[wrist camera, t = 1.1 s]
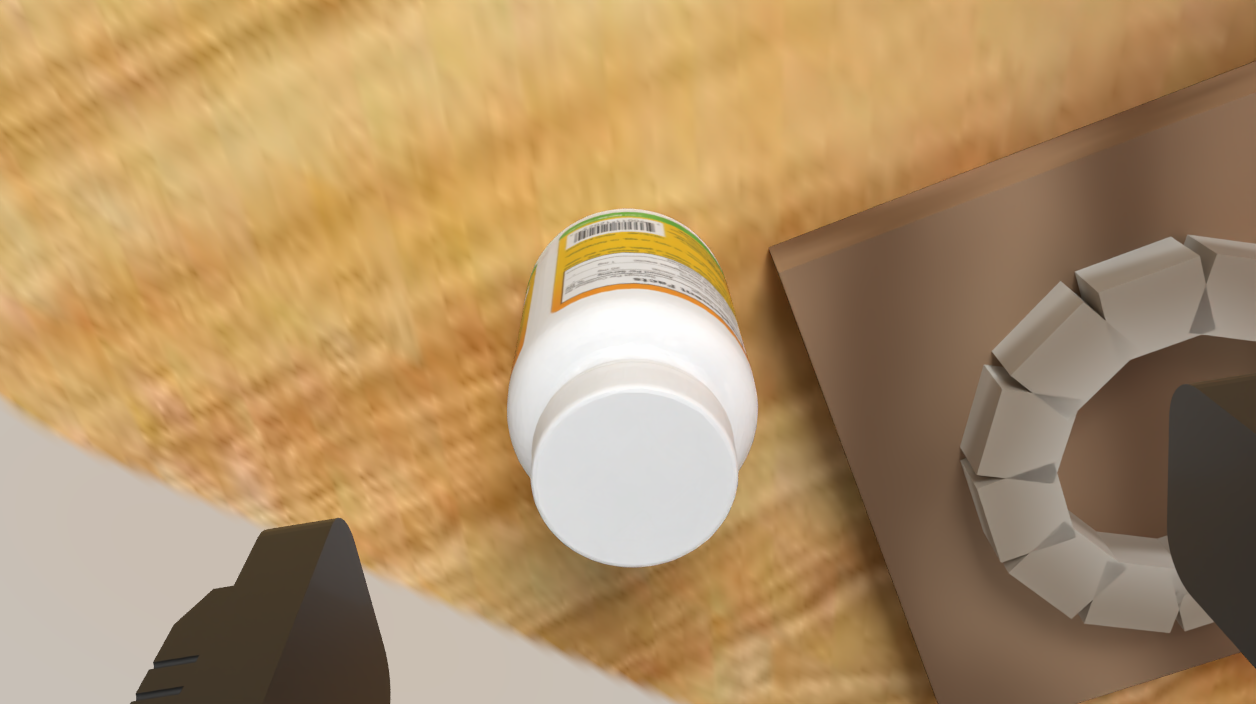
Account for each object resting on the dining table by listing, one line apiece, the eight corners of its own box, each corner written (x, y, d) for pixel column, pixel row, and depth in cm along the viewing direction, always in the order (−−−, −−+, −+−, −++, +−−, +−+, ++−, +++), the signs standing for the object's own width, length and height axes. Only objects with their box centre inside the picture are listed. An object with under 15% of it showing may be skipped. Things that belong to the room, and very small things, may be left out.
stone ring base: (1387, 10, 28) (1488, 29, 25) (1457, 530, 34) (1545, 600, 31) (768, 247, 30) (787, 294, 27) (935, 697, 36) (967, 779, 33)
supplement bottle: (635, 428, 32) (646, 646, 23) (484, 310, 31) (434, 495, 22) (769, 292, 31) (835, 469, 22) (617, 161, 29) (622, 294, 20)
